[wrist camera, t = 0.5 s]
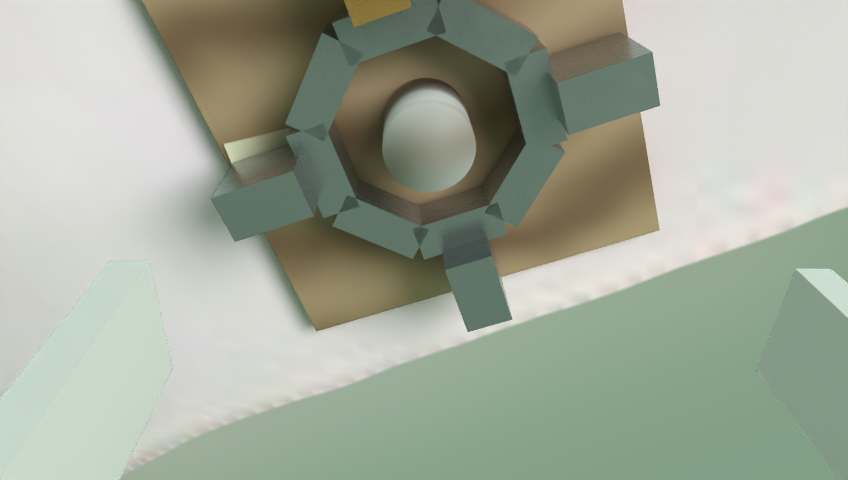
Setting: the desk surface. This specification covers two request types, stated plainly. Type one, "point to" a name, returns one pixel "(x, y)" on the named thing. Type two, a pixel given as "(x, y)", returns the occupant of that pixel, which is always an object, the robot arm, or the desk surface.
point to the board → (357, 269)
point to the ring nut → (461, 213)
